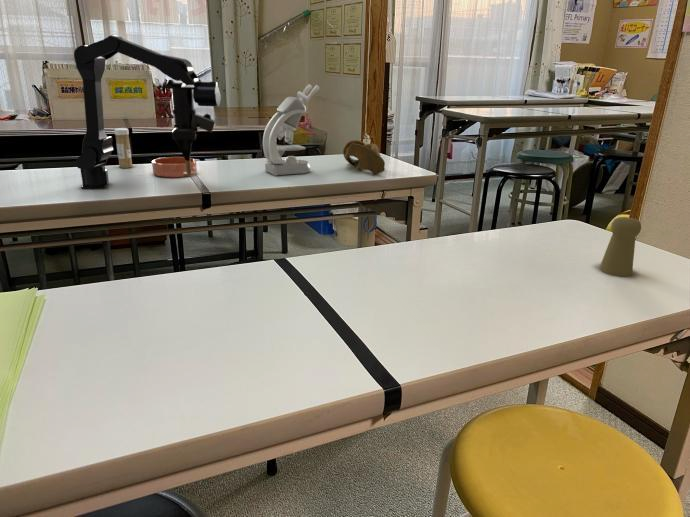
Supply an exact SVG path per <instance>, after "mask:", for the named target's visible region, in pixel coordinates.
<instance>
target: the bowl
mask: <svg viewBox="0 0 690 517" xmlns="http://www.w3.org/2000/svg"><path fill="white" fill-rule="evenodd" d="M190 162H191V172H194V173H195V174H196V173H197V172H198V168H197V159H196V158H192V157H190ZM151 166H152V173H153V174H154V175H156V176H158V177H161V178H185V177H187V176H184V174H183V173H184V172H186V160H185V158H184V156H170V157H169V156H168V157H158V158H155V159H153V160H152V161H151Z"/></svg>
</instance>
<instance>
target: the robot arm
mask: <svg viewBox="0 0 690 517" xmlns="http://www.w3.org/2000/svg"><path fill="white" fill-rule="evenodd" d="M118 53H119V54H121V55H124V56H126V57H128V58H131V59H133V60H136V61H138V62H141V63H144V64H146V65H149V66H151V67H153V68H155V69H156V70H158V71H160V72H161V73H162V74H163V75H165V76H166V77H169V78H170V79H168V81H167V83H166V84H164V85H163V89H166V90H168V89H169V90H170V89H171V98H172V114H173V122H174V124H173V130H172V131H171V140H174V141H175V143H176V144H177V146H178V149H179V150H180V153H181V154H182V157H184V158H185V160H186V161H189V160H190V158H191V154H192V147H193V146H192V145H193V142H194V141H195V140H197V137H198V134H197V133H198V132H199V129H201V130H205V131H206V132H208V133H213V130H214V126H215V123H216V121H215V119H212V116H211V114H209V113H205V114H204V115H202V114H201V115H200V114H198V113H197V110H196V109H195V106H194V105H195V104H197V106H199V107H214V108H215V107H216V108H217V107H218V108H219V107H220V105H221V101H222V100H221V98H222V96H221V91H220V88H219V86H218V85H219V83H218V81H202V80H201V79H200V77H199V76H198V75H197V74H196V72H195V71H194V65H193V64H192V62H191V61H190V60H188V59H186V58H181V57H177V56H174V55H173V56H171V55H166V54H162V53H160V52H157V51H155V50H152V49H149V48H147V47H145V46H143V45H140V44H137V43H135V42H132V41H130V40H127V39H125V38H123V37H122V36H121V35H109V36H107V37H105V38H103V39H101V40H98V41H95V42H93V43H90V44H88V45H79V46H77V48H76V49H74V51H73V58H74V63H75V66H76V69H77V72H78V74H79V76H80V77H81V80H82V92H83V102H84V113H85V114H84V115H85V116H84V117H85V128H86V131H85V134H84V137H83V139H82V146H81V154H80V155H79V156H78V157H77V158H76V159H75V161H74V164H75V165H76V168H77V169H79V170H80V175H81V176H80V177H81V183H82V186H81V189H106V187H107V186H108V185H109V184H110V179H109V172H108V170H107V169H106V164H107V162H108V159H109V158H110V157H111V156H112V152H113V151H114V147H113V137H112V136H108V135H107V133H106V132H105V122H104V108H103V106H104V105H103V92H102V79H103V75H104V73H105V70H106V61H107V60H109V59H111V58H113V57H114V56H115V55H117V54H118ZM175 81H176V82H175Z"/></svg>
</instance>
